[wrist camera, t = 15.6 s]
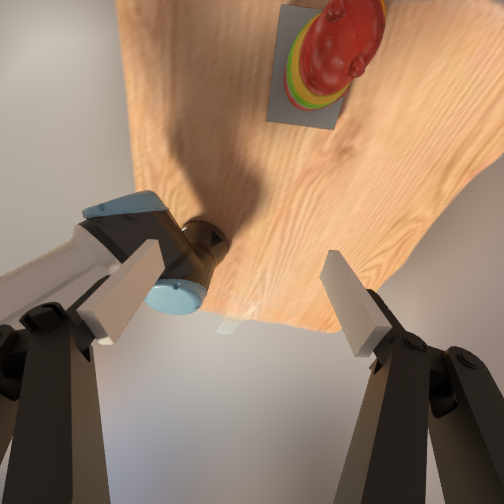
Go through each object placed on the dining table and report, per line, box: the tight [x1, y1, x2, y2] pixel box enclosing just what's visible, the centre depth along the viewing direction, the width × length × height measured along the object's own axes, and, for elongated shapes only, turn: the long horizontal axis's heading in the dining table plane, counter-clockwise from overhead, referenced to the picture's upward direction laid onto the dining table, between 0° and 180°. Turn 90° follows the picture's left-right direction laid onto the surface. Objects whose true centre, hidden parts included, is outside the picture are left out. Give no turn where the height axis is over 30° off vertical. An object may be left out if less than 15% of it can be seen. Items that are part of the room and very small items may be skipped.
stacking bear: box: [284, 0, 386, 111], centre depth 24 cm, size 11×10×18 cm
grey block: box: [266, 4, 344, 130], centre depth 33 cm, size 13×14×4 cm
